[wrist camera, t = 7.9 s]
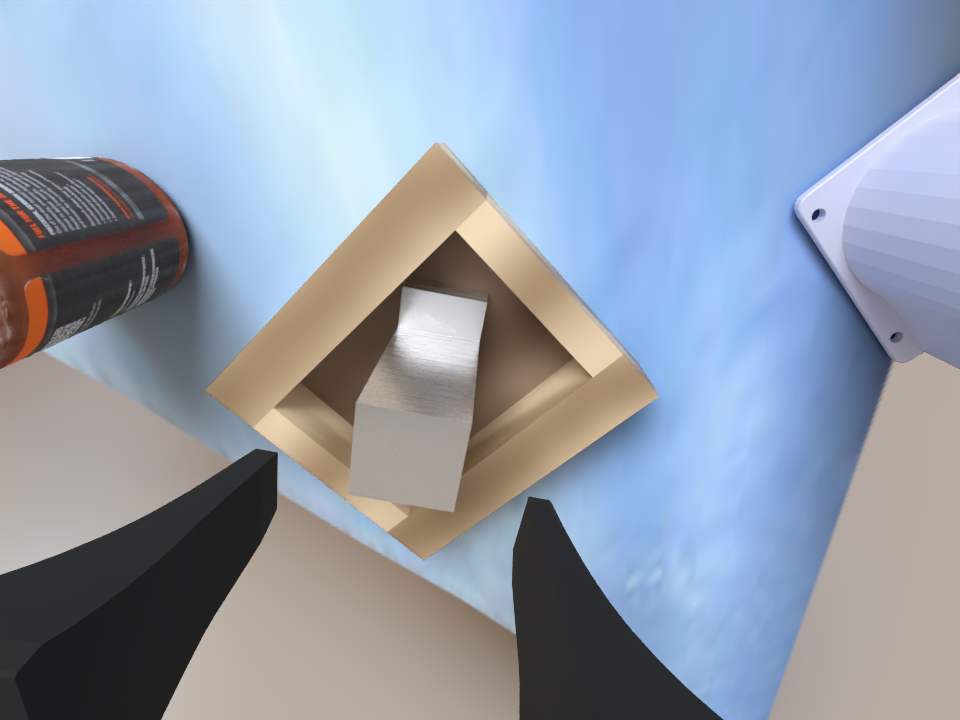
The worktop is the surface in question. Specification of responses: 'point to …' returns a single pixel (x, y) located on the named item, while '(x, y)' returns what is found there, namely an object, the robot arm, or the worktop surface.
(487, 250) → the well block
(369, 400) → the stepped metal bar
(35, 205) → the supplement bottle
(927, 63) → the worktop surface
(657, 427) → the worktop surface
